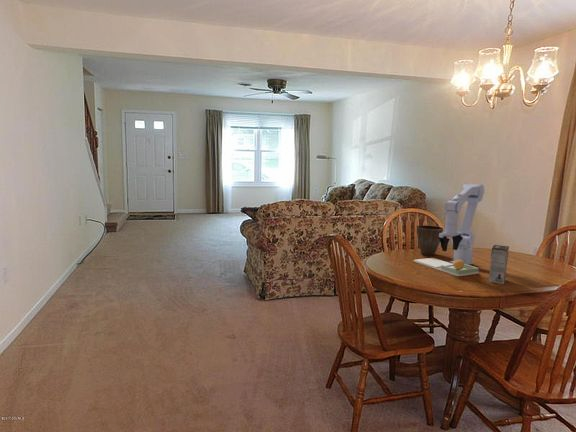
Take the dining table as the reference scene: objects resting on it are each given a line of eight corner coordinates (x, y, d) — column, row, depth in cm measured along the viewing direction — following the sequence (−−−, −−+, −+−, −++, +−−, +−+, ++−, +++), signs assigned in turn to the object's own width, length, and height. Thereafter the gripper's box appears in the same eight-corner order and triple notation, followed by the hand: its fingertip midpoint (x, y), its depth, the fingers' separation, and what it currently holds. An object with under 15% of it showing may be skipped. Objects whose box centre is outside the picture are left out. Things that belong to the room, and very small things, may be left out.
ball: (456, 267, 201) (457, 258, 201) (465, 270, 197) (466, 260, 196) (450, 269, 199) (451, 259, 198) (459, 271, 194) (460, 261, 194)
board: (432, 259, 222) (433, 254, 222) (478, 273, 196) (478, 268, 195) (413, 261, 217) (413, 256, 216) (457, 276, 190) (458, 270, 189)
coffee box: (490, 277, 189) (493, 244, 187) (505, 279, 186) (509, 246, 184) (488, 282, 182) (491, 247, 180) (504, 284, 178) (507, 249, 176)
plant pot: (434, 251, 244) (436, 225, 242) (445, 256, 230) (447, 229, 227) (411, 250, 244) (412, 225, 241) (420, 256, 229) (422, 229, 227)
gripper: (455, 222, 208) (453, 247, 210) (435, 223, 202) (433, 249, 204) (466, 224, 202) (464, 250, 204) (446, 225, 195) (444, 252, 197)
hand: (449, 250), depth 203 cm, fingers open, 7 cm apart
